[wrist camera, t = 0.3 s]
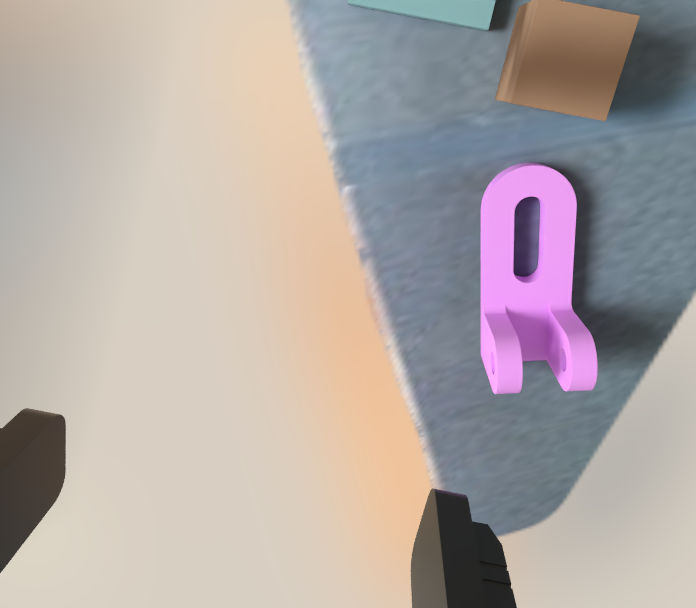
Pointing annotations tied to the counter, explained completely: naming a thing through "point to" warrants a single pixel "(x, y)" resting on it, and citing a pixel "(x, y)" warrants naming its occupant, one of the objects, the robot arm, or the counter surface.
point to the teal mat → (437, 10)
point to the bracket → (531, 285)
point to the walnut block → (566, 57)
